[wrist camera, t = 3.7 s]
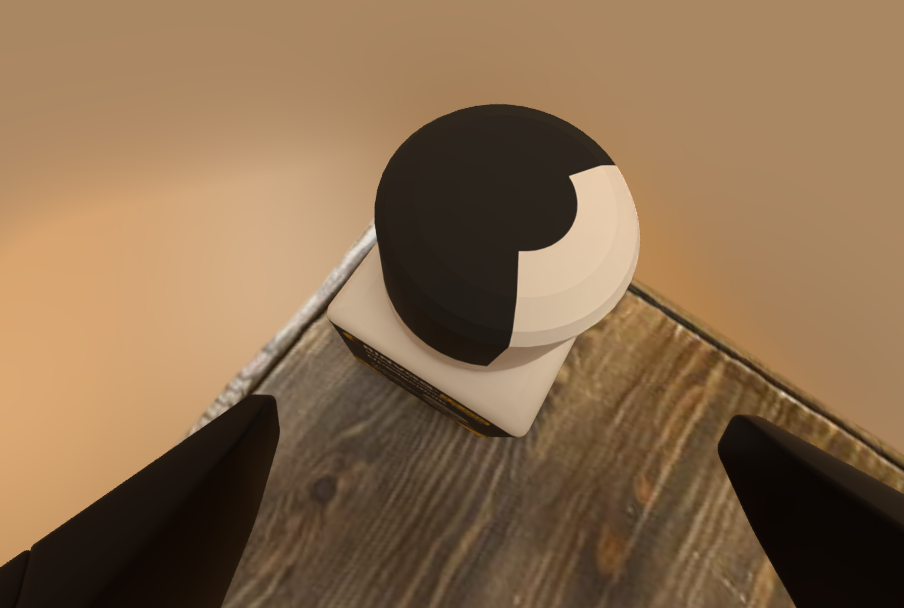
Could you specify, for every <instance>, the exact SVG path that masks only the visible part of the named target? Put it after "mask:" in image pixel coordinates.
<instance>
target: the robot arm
mask: <svg viewBox="0 0 904 608" xmlns="http://www.w3.org/2000/svg"><path fill="white" fill-rule="evenodd" d="M279 435H280V427H279V419H278V412H277V404H276V400H275V398H274V397H273V396H272V395H257V394H254V395H249V396H248V397H246V398H244V399H243V400H242V401H240V402H239V403H237V404H236V405H234V406H233V407H231V408H230V409H229V410H227V411H226V412H224V413H223V414H221V415H220V416H218V417H217V418H216V419H214V420H213V421H211V422H210V423H208V424H207V425H205V426H204V427H203V428H201V429H200V430H198V431H197V432H195V433H194V434H193V435H191V436H190V437H188V438H187V439H185V440H184V441H182V442H181V443H180V444H178V445H177V446H175V447H174V448H172V449H171V450H169V451H168V452H167V453H165V454H164V455H163V456H161V457H159V458H158V459H156V460H155V461H154V462H152V463H151V464H149V465H148V466H146V467H145V468H144V469H142V470H141V471H139V472H138V473H137V474H135V475H133V476H132V477H130V478H129V479H128V480H126V481H125V482H123V483H122V484H120V485H119V486H117V487H116V488H115V489H113V490H112V491H110V492H109V493H107V494H106V495H104V496H103V497H102V498H100V499H99V500H97V501H96V502H94V503H93V504H92V505H90V506H89V507H87V508H86V509H84V510H83V511H81V512H80V513H79V514H77V515H76V516H74V517H73V518H71V519H70V520H68V521H67V522H65V523H64V524H63V525H61V526H60V527H58V528H57V529H55V530H54V531H52V532H51V533H50V534H48V535H47V536H45V537H44V538H42V539H41V540H40V541H38V542H37V543H35V544H34V545H33V546H32V547H31V550H30V551H29V550H26V551H24V552H22V553H20V554H19V555H17V556H16V557H15V558H13V559H12V560H10V561H9V562H7V563H6V564H5V565H3V566H2V567H0V608H221V605H222V603H223V601H224V598H225V596H226V593H227V591H228V588H229V586H230V583H231V581H232V578H233V576H234V574H235V571H236V569H237V566H238V564H239V561H240V559H241V556H242V554H243V551H244V549H245V547H246V544H247V542H248V539H249V537H250V534H251V531H252V529H253V526H254V523H255V521H256V517H257V514H258V511H259V507H260V504H261V500H262V497H263V493H264V490H265V487H266V483H267V480H268V476H269V473H270V469H271V466H272V462H273V459H274V455H275V452H276V448H277V445H278V441H279ZM718 454H719V457H720V460H721V462H722V464H723V466H724V468H725V471H726V473H727V475H728V477H729V479H730V481H731V484H732V486H733V488H734V490H735V492H736V495H737V497H738V499H739V501H740V503H741V506H742V508H743V510H744V512H745V514H746V517H747V519H748V521H749V523H750V525H751V527H752V529H753V531H754V533H755V535H756V537H757V539H758V540H759V542H760V544H761V546H762V548H763V549H764V551H765V553H766V555H767V556H768V558H769V560H770V562H771V564H772V565H773V567H774V569H775V571H776V572H777V574H778V576H779V578H780V580H781V581H782V583H783V585H784V587H785V588H786V590H787V592H788V594H789V595H790V597H791V599H792V601H793V603H794V604H795V606H796V608H904V494H903V493H901V492H899V491H897V490H895V489H894V488H892V487H890V486H888V485H886V484H884V483H882V482H881V481H879V480H877V479H875V478H873V477H871V476H869V475H868V474H866V473H864V472H862V471H860V470H858V469H856V468H855V467H853V466H851V465H849V464H847V463H845V462H843V461H842V460H840V459H838V458H836V457H834V456H832V455H830V454H829V453H827V452H825V451H823V450H821V449H819V448H817V447H816V446H814V445H812V444H810V443H808V442H806V441H804V440H803V439H801V438H799V437H797V436H795V435H793V434H791V433H790V432H788V431H786V430H784V429H782V428H780V427H779V426H777V425H775V424H773V423H771V422H769V421H767V420H766V419H764V418H762V417H760V416H756V415H735V416H734V417H733V418H732V419H731V420H730V422H729V424H728V426H727V428H726V430H725V432H724V433H723V435H722V437H721V439H720V441H719V443H718Z"/></svg>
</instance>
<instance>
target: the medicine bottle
mask: <svg viewBox="0 0 904 608" xmlns="http://www.w3.org/2000/svg"><path fill="white" fill-rule="evenodd" d="M375 229H376V235H377V243H376V244H375V245H374V247H373V248H372V249H371V251H370V252H369V253H368V255H367V256H366V257H365V259H364V260H363V261H362V263H361V264H360V265H359V267H358V268H357V269H356V270H355V272H354V273H353V274H352V276H351V277H350V278H349V280H348V281H347V282H346V284H345V285H344V286H343V288H342V289H341V290H340V292H339V293H338V294H337V296H336V297H335V298H334V299H333V301H332V302H331V303H330V305H329V307H328V310H327V316H328V318H329V320H330V321H331V323H332V324H333V326H334V327H335V329H336V330H337V332H338V333H339V334H340V336H341V337H342V339H343V340H344V342H345V343H346V345H347V346H348V348H349V349H350V350H351V352H352V353H353V355H354V356H355V357H356V358H357V359H358V360H359V361H361V362H363V363H364V364H366V365H367V366H369V367H371V368H372V369H374V370H375V371H377V372H378V373H380V374H382V375H383V376H385V377H386V378H388V379H389V380H391V381H393V382H394V383H396V384H397V385H399V386H400V387H402V388H404V389H405V390H407V391H408V392H410V393H411V394H413V395H415V396H416V397H418V398H419V399H421V400H423V401H424V402H426V403H427V404H429V405H430V406H432V407H434V408H435V409H437V410H438V411H440V412H441V413H443V414H445V415H446V416H448V417H449V418H451V419H452V420H454V421H456V422H457V423H459V424H460V425H462V426H463V427H465V428H467V429H468V430H470V431H471V432H473V433H475V434H476V435H478V436H481V437H521V436H524V435H525V434H526V433H527V432H528V431H529V429H530V427H531V425H532V423H533V421H534V419H535V417H536V415H537V413H538V411H539V409H540V407H541V405H542V404H543V402H544V400H545V398H546V396H547V394H548V392H549V390H550V388H551V386H552V384H553V382H554V380H555V378H556V376H557V374H558V372H559V370H560V368H561V366H562V364H563V362H564V361H565V359H566V357H567V355H568V353H569V351H570V349H571V347H572V345H573V343H574V341H575V339H576V337H577V335H579V334H580V333H582V332H584V331H585V330H587V329H588V328H590V327H591V326H593V325H594V324H596V323H597V322H599V321H600V320H601V319H602V318H603V317H604V316H606V315H607V314H608V313H609V312H610V311H611V310H612V309H613V308H614V307H615V305H616V304H617V303H618V301H619V300H620V299H621V297H622V296H623V295H624V293H625V291H626V289H627V287H628V286H629V284H630V282H631V280H632V277H633V274H634V271H635V268H636V265H637V260H638V254H639V248H640V230H639V222H638V215H637V212H636V208H635V205H634V201H633V198H632V196H631V193H630V191H629V189H628V186H627V184H626V182H625V180H624V178H623V176H622V174H621V173H620V171H619V169H618V168H617V166H616V165H615V163H614V162H613V161H612V159H611V158H610V157H609V156H608V154H607V153H606V152H605V151H604V150H603V149H602V148H601V147H600V146H599V145H598V144H597V143H596V142H595V141H594V140H592V139H591V138H590V137H589V136H587V135H586V134H585V133H584V132H582V131H581V130H579V129H578V128H576V127H575V126H573V125H571V124H570V123H568V122H566V121H564V120H562V119H560V118H558V117H556V116H554V115H551V114H548V113H545V112H542V111H540V110H536V109H532V108H528V107H523V106H515V105H507V104H490V105H481V106H474V107H469V108H465V109H461V110H458V111H455V112H452V113H450V114H447V115H444V116H442V117H439V118H437V119H436V120H434V121H432V122H430V123H428V124H426V125H424V126H423V127H422V128H420V129H419V130H417V131H416V132H415V133H413V134H412V135H411V136H410V137H409V138H408V139H407V140H406V141H405V142H404V143H403V144H402V145H401V146H400V147H399V148H398V150H397V151H396V152H395V154H394V155H393V156H392V158H391V159H390V161H389V163H388V165H387V166H386V168H385V170H384V172H383V174H382V178H381V180H380V183H379V186H378V189H377V195H376V201H375Z"/></svg>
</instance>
